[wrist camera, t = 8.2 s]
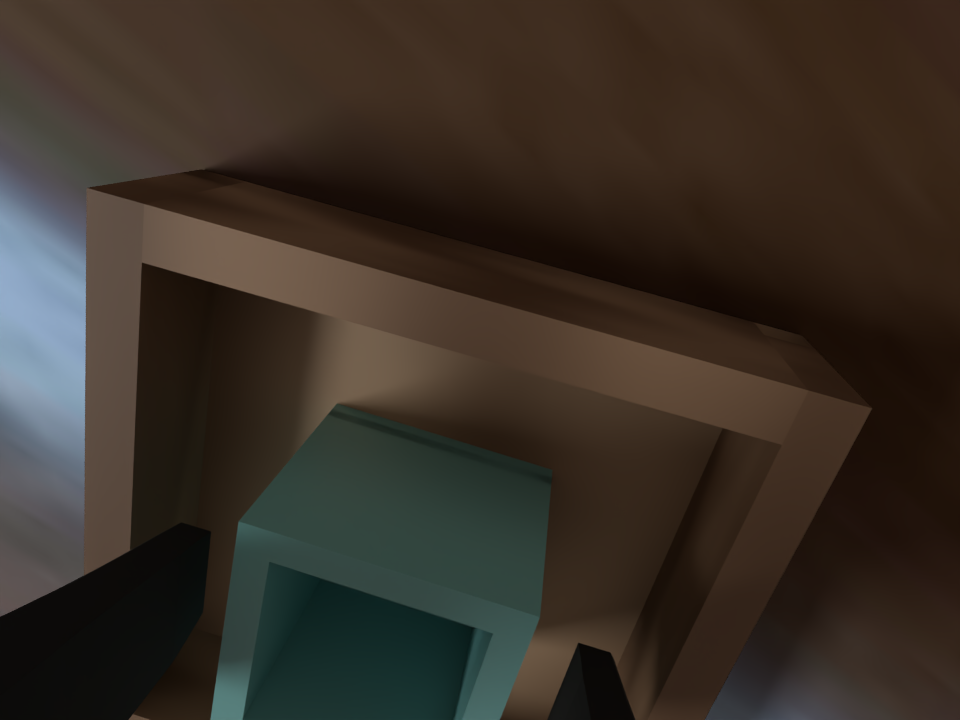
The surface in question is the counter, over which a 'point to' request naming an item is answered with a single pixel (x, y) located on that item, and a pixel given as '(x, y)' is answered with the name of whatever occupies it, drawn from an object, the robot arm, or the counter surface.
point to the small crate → (384, 579)
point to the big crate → (451, 418)
